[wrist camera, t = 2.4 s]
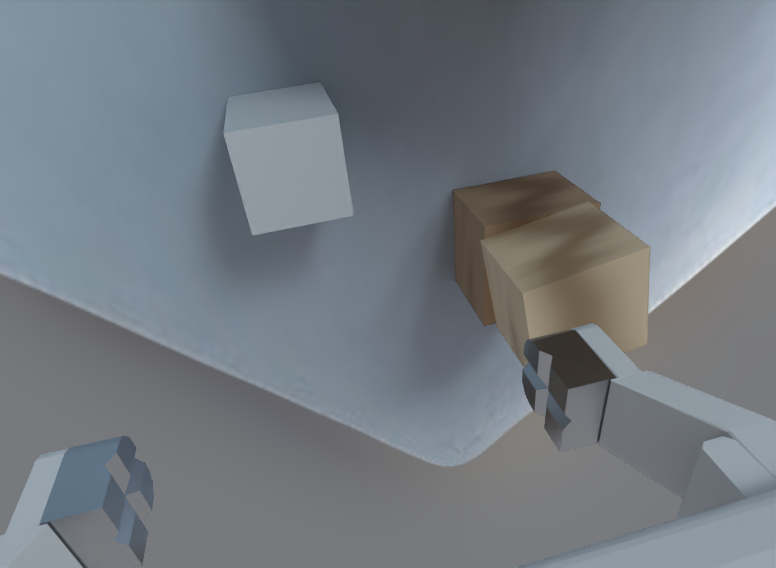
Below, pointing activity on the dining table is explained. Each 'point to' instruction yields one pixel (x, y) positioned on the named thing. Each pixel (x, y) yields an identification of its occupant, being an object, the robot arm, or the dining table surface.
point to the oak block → (569, 278)
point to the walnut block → (502, 223)
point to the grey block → (288, 157)
